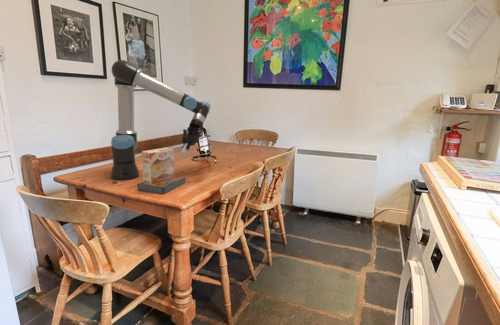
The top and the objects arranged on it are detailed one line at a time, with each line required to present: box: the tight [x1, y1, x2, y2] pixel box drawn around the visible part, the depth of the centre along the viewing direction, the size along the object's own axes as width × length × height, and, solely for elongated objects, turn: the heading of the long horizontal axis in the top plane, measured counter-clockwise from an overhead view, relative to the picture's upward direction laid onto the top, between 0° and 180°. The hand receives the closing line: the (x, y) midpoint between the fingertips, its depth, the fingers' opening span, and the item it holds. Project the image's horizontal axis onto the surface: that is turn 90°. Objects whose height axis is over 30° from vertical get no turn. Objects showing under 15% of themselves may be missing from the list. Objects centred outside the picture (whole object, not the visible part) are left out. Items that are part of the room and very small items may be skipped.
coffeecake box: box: [141, 147, 176, 187], centre depth 147 cm, size 15×7×20 cm, turn 144°
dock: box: [137, 176, 186, 195], centre depth 150 cm, size 15×20×3 cm
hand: (183, 153), depth 165 cm, fingers closed
